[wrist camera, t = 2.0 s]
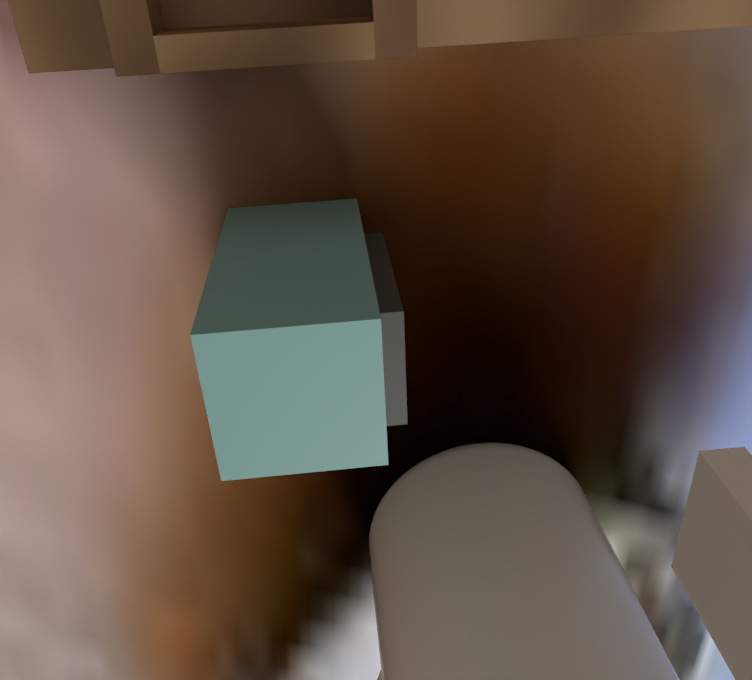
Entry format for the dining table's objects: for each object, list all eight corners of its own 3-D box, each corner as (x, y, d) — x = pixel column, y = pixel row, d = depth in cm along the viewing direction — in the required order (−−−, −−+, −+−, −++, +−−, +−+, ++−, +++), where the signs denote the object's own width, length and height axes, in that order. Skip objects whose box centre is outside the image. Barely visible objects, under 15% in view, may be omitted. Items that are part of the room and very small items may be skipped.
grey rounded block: (452, 389, 25) (542, 659, 16) (621, 481, 28) (782, 755, 19) (286, 587, 30) (276, 892, 20) (447, 648, 33) (505, 938, 23)
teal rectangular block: (246, 321, 23) (221, 480, 16) (227, 207, 21) (190, 335, 14) (381, 310, 23) (413, 462, 17) (376, 196, 21) (409, 316, 15)
